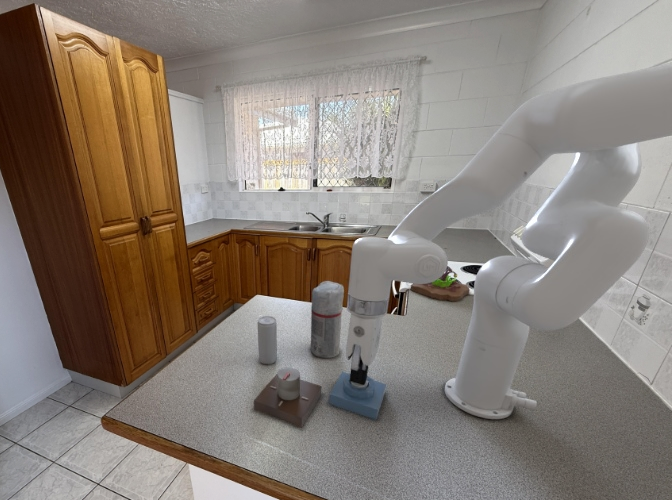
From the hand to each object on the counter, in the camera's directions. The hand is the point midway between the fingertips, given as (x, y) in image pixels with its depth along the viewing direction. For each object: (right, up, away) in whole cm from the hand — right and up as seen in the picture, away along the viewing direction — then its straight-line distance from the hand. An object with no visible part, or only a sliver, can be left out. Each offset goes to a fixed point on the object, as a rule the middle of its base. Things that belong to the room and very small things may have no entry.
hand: (358, 380), depth 67 cm
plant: (+49, +21, +60) cm, 80 cm away
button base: (0, -4, +2) cm, 5 cm away
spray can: (-4, +3, +20) cm, 20 cm away
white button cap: (0, -2, +1) cm, 2 cm away
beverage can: (-20, +1, +16) cm, 26 cm away
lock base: (-15, -5, +1) cm, 16 cm away
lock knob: (-15, -3, 0) cm, 15 cm away
